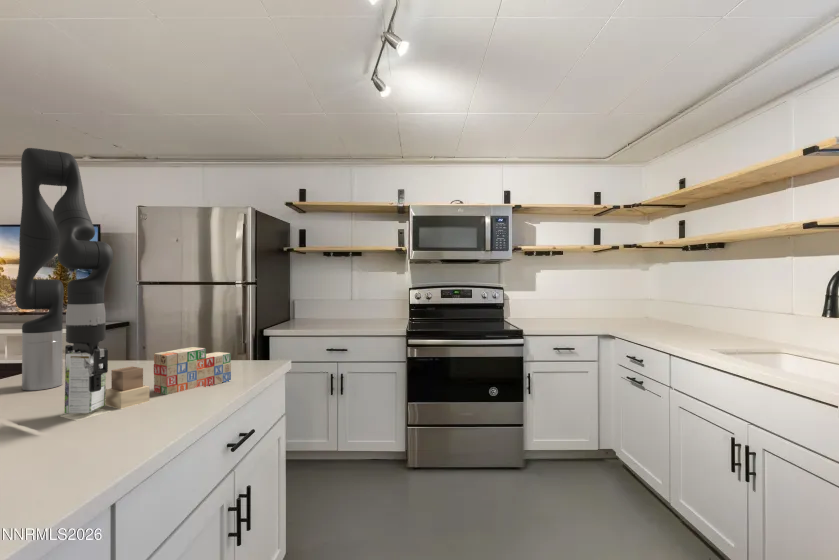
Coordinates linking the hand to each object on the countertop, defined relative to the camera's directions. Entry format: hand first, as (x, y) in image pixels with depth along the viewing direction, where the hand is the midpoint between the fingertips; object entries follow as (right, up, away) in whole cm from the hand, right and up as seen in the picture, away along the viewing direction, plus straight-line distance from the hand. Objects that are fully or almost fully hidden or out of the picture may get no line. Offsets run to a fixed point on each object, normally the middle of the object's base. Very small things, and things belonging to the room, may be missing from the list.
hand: (86, 388), depth 100 cm
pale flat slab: (0, -7, +6) cm, 9 cm away
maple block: (+4, -6, +9) cm, 11 cm away
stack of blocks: (+12, -7, +27) cm, 30 cm away
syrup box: (0, -5, 0) cm, 5 cm away
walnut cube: (+4, -2, +8) cm, 10 cm away
